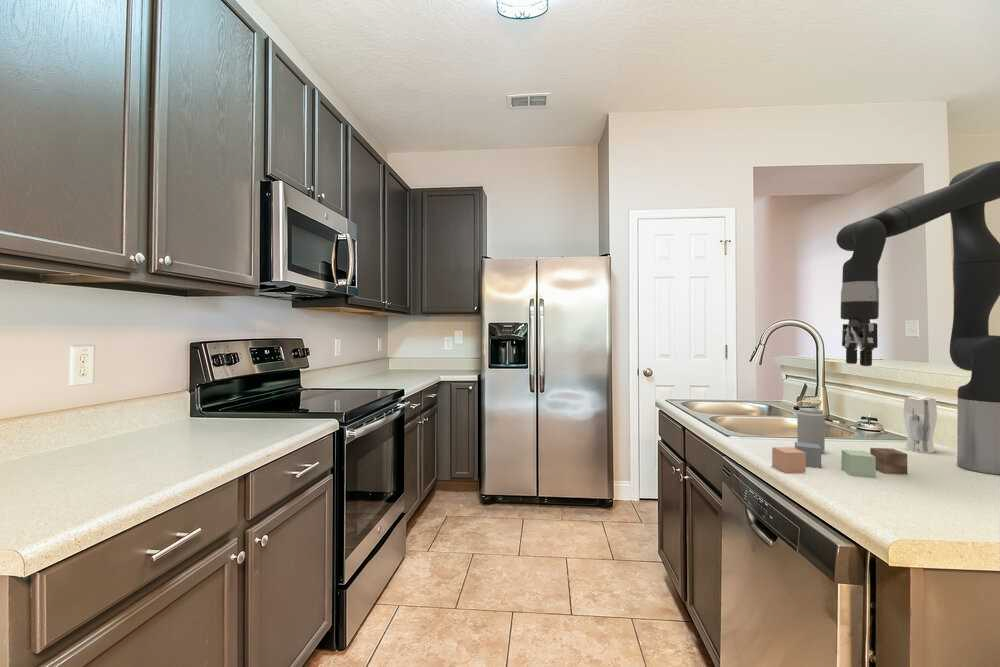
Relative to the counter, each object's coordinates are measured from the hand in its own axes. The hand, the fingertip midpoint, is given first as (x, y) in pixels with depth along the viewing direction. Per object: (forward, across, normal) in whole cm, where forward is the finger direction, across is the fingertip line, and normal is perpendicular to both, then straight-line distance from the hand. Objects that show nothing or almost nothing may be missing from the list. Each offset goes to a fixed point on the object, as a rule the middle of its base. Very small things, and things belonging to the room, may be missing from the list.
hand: (858, 364), depth 113 cm
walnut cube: (+26, -1, -6) cm, 27 cm away
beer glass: (+26, +25, -24) cm, 43 cm away
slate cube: (+26, -2, +11) cm, 28 cm away
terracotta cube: (+26, -8, +17) cm, 32 cm away
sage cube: (+26, -6, +2) cm, 27 cm away
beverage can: (+26, +14, +6) cm, 30 cm away
